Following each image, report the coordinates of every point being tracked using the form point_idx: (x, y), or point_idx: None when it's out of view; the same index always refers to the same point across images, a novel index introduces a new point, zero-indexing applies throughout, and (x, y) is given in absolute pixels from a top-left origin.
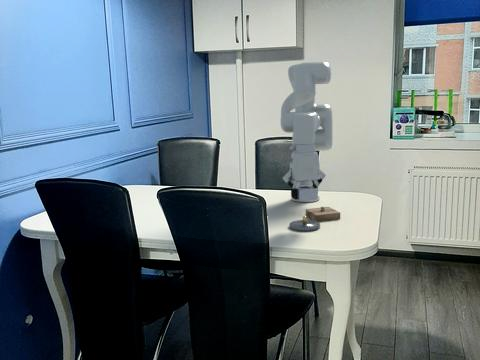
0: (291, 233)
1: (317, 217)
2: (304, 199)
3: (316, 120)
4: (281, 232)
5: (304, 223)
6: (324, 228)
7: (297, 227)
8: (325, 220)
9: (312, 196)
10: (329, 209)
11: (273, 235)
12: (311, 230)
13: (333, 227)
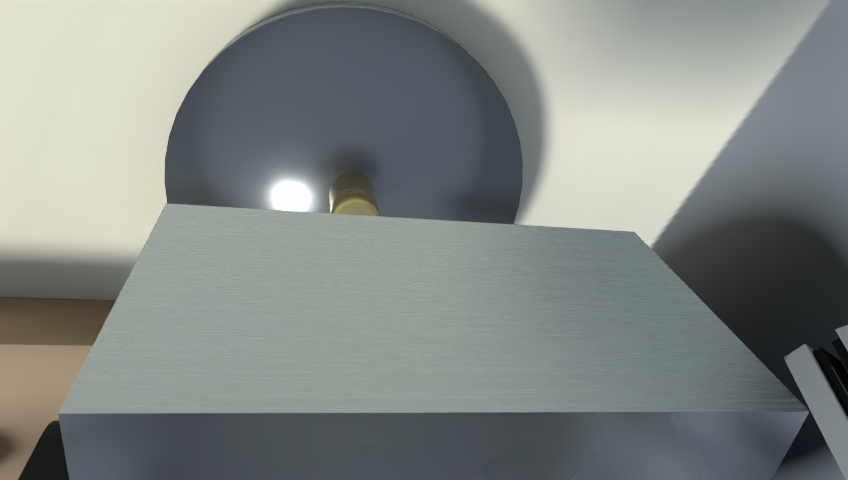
0: (595, 42)
1: None
2: (527, 234)
3: None
4: (652, 123)
5: (366, 181)
6: (152, 28)
7: (497, 108)
8: (10, 298)
9: (314, 252)
10: None
11: (773, 70)
12: (360, 4)
13: (12, 9)
